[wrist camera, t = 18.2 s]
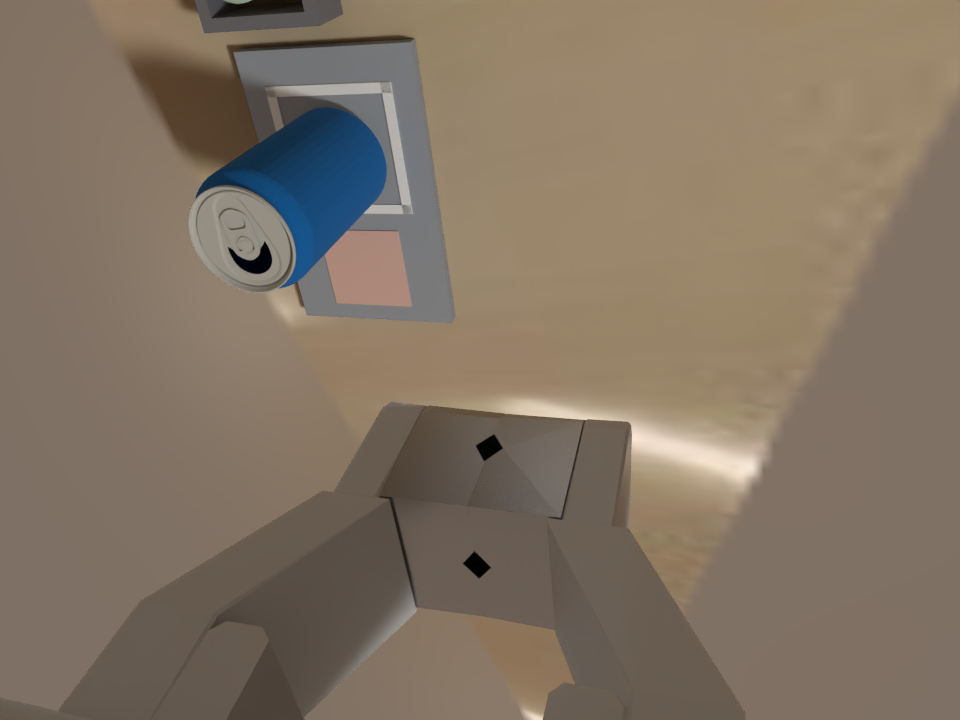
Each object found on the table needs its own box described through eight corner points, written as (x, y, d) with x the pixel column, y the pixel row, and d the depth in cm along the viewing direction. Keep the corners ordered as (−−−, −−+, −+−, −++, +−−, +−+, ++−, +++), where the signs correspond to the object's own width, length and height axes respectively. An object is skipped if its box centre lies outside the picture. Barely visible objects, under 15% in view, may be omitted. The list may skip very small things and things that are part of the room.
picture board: (240, 48, 43) (232, 52, 43) (414, 38, 40) (409, 42, 40) (311, 309, 54) (306, 316, 53) (455, 316, 51) (451, 323, 50)
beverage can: (315, 213, 48) (215, 306, 38) (277, 113, 44) (156, 188, 35) (405, 199, 45) (322, 294, 36) (371, 93, 42) (270, 167, 33)
